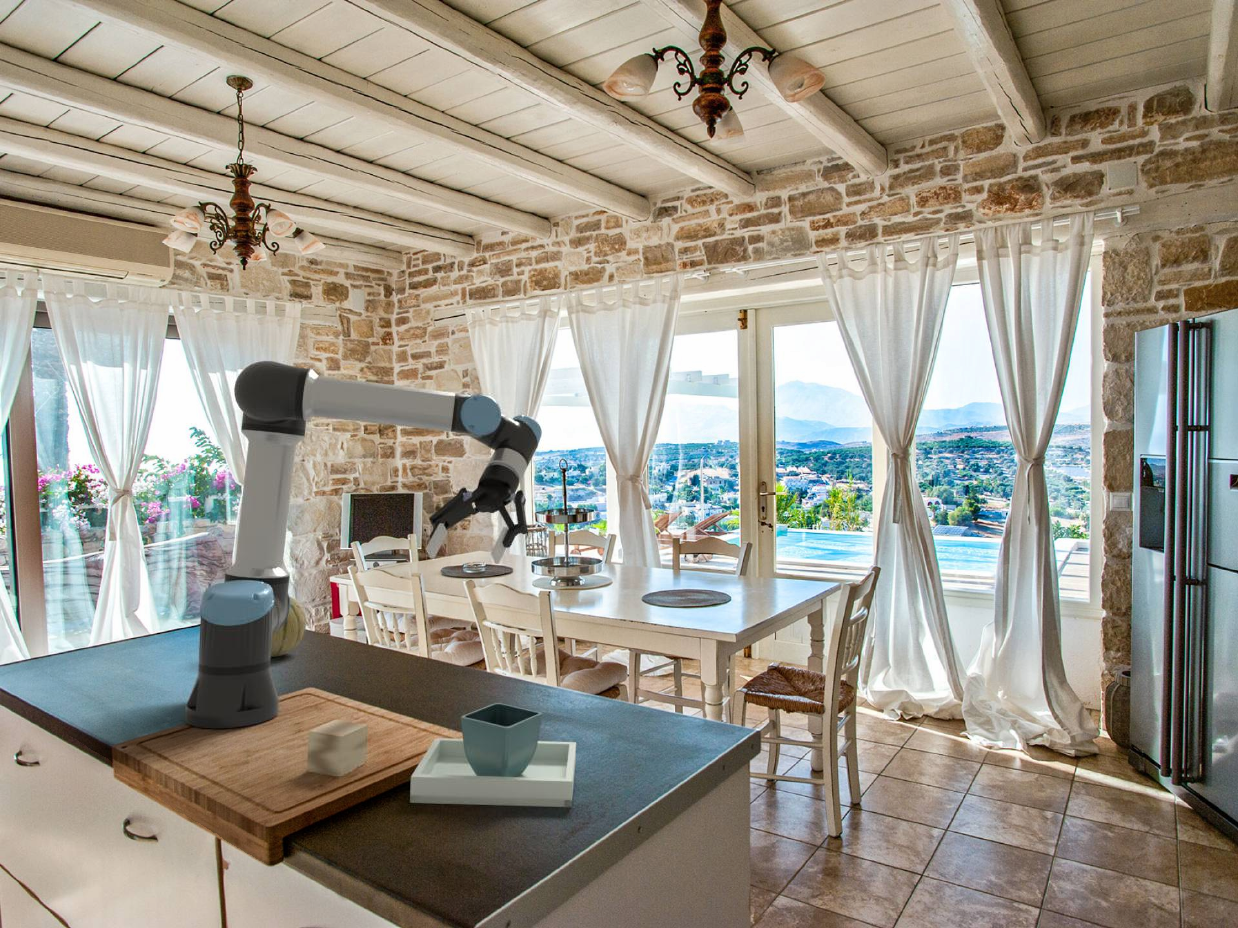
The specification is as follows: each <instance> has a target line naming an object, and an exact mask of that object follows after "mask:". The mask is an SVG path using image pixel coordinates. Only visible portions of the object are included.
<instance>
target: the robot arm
mask: <svg viewBox="0 0 1238 928" xmlns="http://www.w3.org/2000/svg"><path fill="white" fill-rule="evenodd" d="M233 392H234V398H235V402H236V404H237V405H238V408H239V410H241V411H242V420H241V428H240V429H241V430H240V432H241V433H242V434H243V435H244V437H245V438H246V440H247V441H248V445H247V452H246V462H245V470H244V479H243V488H242V497H241V498H242V499H241V507H240V508H241V509H240V518H239V524H238V525H239V526H238V535H237V543H236V552H235V561H234V563H233V564H232V565H231V566H230V567H229V568H227V569H226V570H225V572H224V573H225V574H224V582H221V583H220V582H219V583H215V584H213V585H211V586H209V587H207V588H206V589H204V591H203V594H202V598H201V603H200V607H199V612H200V620H199V621H200V623H199V627H200V628H199V647H198V648H199V650H198V671H197V672H198V673H197V678H196V680H195V682H194V685H193V687H192V690H191V692H190V695H189V698H188V700H187V702H186V705H185V710H184V722H185V723H186V724H187V725H190V726H193V727H197V728H204V729H231V728H239V727H240V728H241V727H247V726H252V725H256V724H260V723H263V722H267V721H269V720H272V719H273V718H275V717H276V716H278V714H279V710H280V700H279V699H280V698H279V695H278V692H277V689H276V685H275V682H274V680H273V676H272V673H271V659H272V657H271V637H272V635H273V634H274V633H276V632H277V631H278V630H279V629H280V628H281V627H282V626H283V624H284V623H285V621H286V618H288V615H289V611H290V598H289V597H290V595H289V586H290V576H291V575H290V572H289V571H288V570H287V568H286V567H285V566H284V556H285V555H284V554H285V547H286V535H287V529H288V519H289V511H290V509H289V508H290V500H291V492H292V491H291V490H292V482H293V474H294V464H295V456H296V455H295V453H296V447H297V445H298V444H299V443H300V442H301V441H303V440H304V439H305V436H306V427H307V422H308V421H309V420H311V419H312V418H314V417H315V418H316V417H317V418H325V419H332V420H333V419H334V420H343V421H344V420H345V421H353V422H361V423H370V424H378V425H379V424H381V425H387V426H397V427H405V428H406V427H407V428H415V429H416V428H417V429H422V430H432V431H433V430H434V431H440V432H450V433H451V432H452V433H458V434H465V435H466V436H468V437H470V438H471V439H474V440H476V441H477V442H479V443H480V444H483V445H485V446H486V447H488V448H489V449H491V450H493V451H494V452H493V454H492V455H491V457H490V458H489V461H488V462H487V464H486V467H485V468H484V470H483V472H482V474H481V476H480V478H479V480H478V484H477V487H476V489H474V490H473V491H469V490H468V489H467V488H466V487H461V488H460V490H459V491H458V492H457V494H456V495H454V497H452V498H451V499H450V500H449V501H448V502H447V503H445V504H444V505H442V506H441V507H440V508H439V509H437V511H435V512H434V513H433V514H432V515H431V516H430V517H429V518H428V519H429V521H430V523H431V525H432V528H433V529H432V531H431V533H430V534H429V539H430V540H429V541H428V543H427V545H426V547H425V551H426V553H427V555H428V556H429V558H430V559H435V558H436V556H437V554H438V552H439V550H440V549H441V546H442V544H443V543H444V541H445V539H446V537H447V535H449V534H448V533H449V532H448V529H450V528H452V527H453V526H455V525H457V524H458V523H460V522H461V521H464V520H465V519H466V518H468V517H470V516H475V515H478V514H479V513H490V514H495V513H497V512H499V514H500V515H501V518H502V520H503V521H504V523H505V525H506V526H505V527H504V526H503V527H502V530H501V531H500V534H499V536H498V538H497V539H496V542H495V544H494V546H493V548H492V550H491V553H490V556H491V557H492V560H493V561H494V564H498V565H499V564H500V562H501V561H502V558H503V555H504V553H505V551H506V549H507V548H508V549H509V548H510V547H511V546H512V545H513V542H514V541H515V538H516V537H517V536H518V535H519V534H522V535H527V534H528V524H527V517H526V512H525V506H526V501H527V499H526V496H525V494H524V490H522V489H519V490H517V489H518V488H519V485H520V483H521V481H522V479H523V477H524V475H525V473H526V471H527V469H528V466H529V464H530V463H531V461H532V459H533V456H534V455H535V453H536V451H537V449H538V447H539V443H540V440H541V438H542V434H543V431H542V427H541V425H540V424H539V422H538V421H536V419H534V418H533V417H531V416H525V415H523V414H518V415H516V416H513V418H511V417H509V416H507V415H504V414H503V413H502V411H501V407H500V406H499V403H497V401H496V400H495V399H494V398H493V397H491V396H489V395H486V394H482V393H480V394H479V393H477V394H468V393H467V392H462V393H456V392H450V391H444V390H443V391H442V390H434V389H426V388H418V387H410V386H403V385H395V384H387V383H380V382H372V381H370V382H369V381H365V380H364V381H363V380H358V379H357V380H356V379H347V378H346V379H345V378H338V377H330V376H325V375H324V376H323V375H319V374H318V373H317V372H316V371H315V370H313V368H303V367H299V366H293V365H288V364H286V363H285V364H284V363H281V362H277V361H272V360H261V361H257V362H254V363H251V364H249V365H247V366H246V367H245V368H244V369H242V371H240V373H239V374H238V376H237V378H236V380H235V383H234V388H233ZM512 501H513V504H514V505H515V513H516V520H517V523H516V524H515V523H514V521H513V519H512V518H511V515H510V514H509V511H508V509H506V506H508V505H509V504H510V503H512ZM473 503H474V506H475V507H474V506H473Z"/></svg>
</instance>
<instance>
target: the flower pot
mask: <svg viewBox="0 0 1238 928" xmlns="http://www.w3.org/2000/svg"><path fill="white" fill-rule="evenodd" d="M542 718H543V712H541V711H536V710H533V709H527V708H522V707H519V706H515V705H511V704H506V703H501V702H495V703H492V704H489V705H487V706H485V707H482V708H480V709H477V710H474V711H472V712H469V713H466V714H463V715H462V716H460V723H461V733H462V734H461V735H462V739H463V743H464V750H465V754H466V757H467V760H468V762H469V764H470V766H471V768H472V769H473V771H474V772H475V774H476V775H477V776H497V777H516V776H518V775H520V774H522V773H523V772H524V771H525V769H526V768H527V766H528V765H529V763H530V761H531V760H532V758H533V755H534V753H535V751H536V747H537V744H538V741H539V737H540V732H541V726H542Z"/></svg>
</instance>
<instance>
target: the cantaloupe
mask: <svg viewBox="0 0 1238 928" xmlns="http://www.w3.org/2000/svg"><path fill="white" fill-rule="evenodd" d="M289 598H290V611H289V615H288V618H286V621H285V623H284V624H283V626H282V627H281V628H280V629H279V630H278V631H277V632H276V633H274V634H273V635H272V637H271V658H273V657H280V656H284V655H285V654H288V653H289V652H291V651H293V650H295V648H296V647H298V646H299V644H300V643H301V642H302V640H303V637H304V635H305V632H306V627H307V616H306V612H305V610H304V609H303V607H302V605H301V604H300V603H299V602H298V601H296V599H294V597H292V596H289Z"/></svg>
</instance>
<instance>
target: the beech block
mask: <svg viewBox="0 0 1238 928" xmlns="http://www.w3.org/2000/svg"><path fill="white" fill-rule="evenodd" d="M368 727H369V726H368V724H364V723H358V722H351V721H345V720H339V719H333V720H331V721H329V722H327V723H324V724H322V725H319V726H317V727H314V728H312V729H310V730H308V737H307V739H308V741H307V757H306V758H307V759H306V761H307V763H306V771H307V772H310V773H316V774H322V775H327V776H333V777H337V776H339V777H338V778H341V777H340V776H342V777H343V775H344V774H346V775H347V773H348V772H349V773H351V772H352V771H351V770H353V769H354V768H356V767H358V766H359V765H361V764H362V763H364V762H365V761H366V762H367V751H368V747H367V746H368V731H369V730H368ZM350 771H351V772H350ZM353 771H354V770H353ZM349 773H348V774H349ZM344 776H345V775H344Z"/></svg>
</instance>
